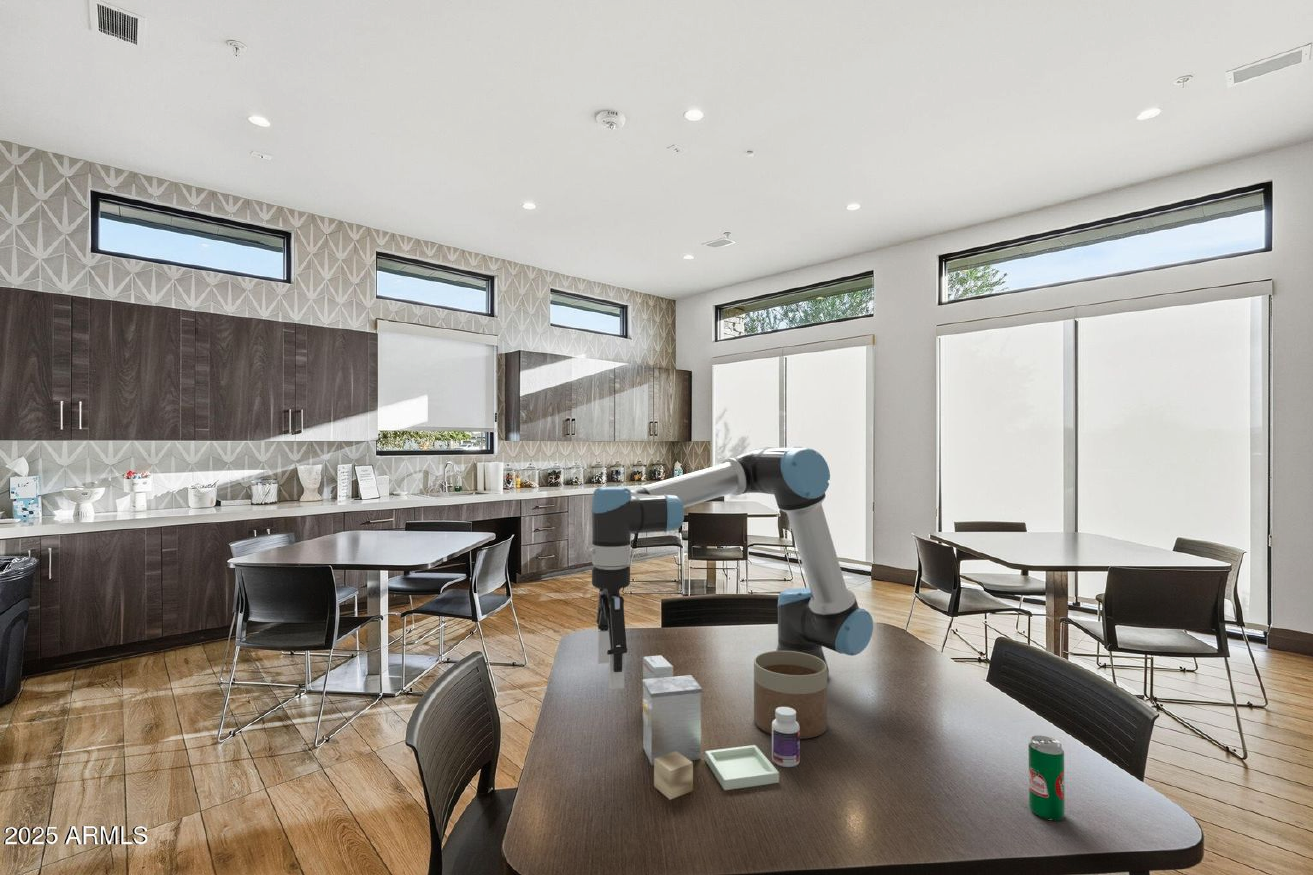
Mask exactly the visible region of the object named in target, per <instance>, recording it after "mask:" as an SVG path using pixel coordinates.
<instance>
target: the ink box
mask: <svg viewBox="0 0 1313 875" xmlns="http://www.w3.org/2000/svg"><path fill="white" fill-rule="evenodd" d="M663 677H674V665H672V664H671V663H670V662H669V661H668V660H667V659H666V658H665V657H663V655H662V654H660V655H649V656H648V655H647V656H644V657H642V679H652V678H663ZM643 699H644V685H643V684H642V700H643Z"/></svg>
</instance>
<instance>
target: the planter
mask: <svg viewBox="0 0 1313 875" xmlns="http://www.w3.org/2000/svg"><path fill="white" fill-rule="evenodd" d="M827 665H828V664H827ZM827 665H826V663H825V662H824V661H823V660H821V659H820V658H818V657H816V656H813V655H810V654H806V653H801V652H795V651H776V650H774V651H771V650H770V651H766V652H763V653H760V654H758V655H757V656H756V657H754V659H753V721H754V723H755V725H756V726H757V727H758V728H760V729H761V730H762V731H764V732H766V733H767V734H770V735H772V722H773V720H774V719H776V717H775V710H776V708H778V707H789V708H792V709H794V710H795V711H796V720H795V721H797V722H798V724H799V726H800V740H805V739H807V740H808V739H810V738H811V739H812V738H816V737H818V736H820V735H822V734H823V733H825V732H826V730H827V728H828V681H827Z"/></svg>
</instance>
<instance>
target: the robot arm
mask: <svg viewBox="0 0 1313 875" xmlns="http://www.w3.org/2000/svg"><path fill="white" fill-rule="evenodd" d="M830 479H831V473H830V468H829V465H828V462H827V461H826V459H825V458H824V457H823V455H822V454H821V453H820V452H818V451H817V450H815V449H813V448H809V447H803V446H802V447H801V446H792V447H768V446H767V447H761V448H758V449H753V450H751V451H748V452H745V453H741V454H739V455H735V456H731V457H728V458H726V459H724V460H723V461H722V462H721V464H719V465H714V466H710V467H707V468H704V469H700V470H696V471H693V472H690V473H689V472H688V473H686V474H682V475H678V476H675V477H671V478H668V479H664V480H663V479H662V480H660V481H657V482H654V483H649V484H646V485H642V486H639V487H636V488H635V487H634V488H631V489H630V488H629V487H626V486H601V487H597V488H595V489H594V491H593V494H592V495H593V496H592V502H591V503H592V504H591V505H592V506H591V514H592V515H591V517H592V523H591V524H592V526H591V527H592V531H591V532H592V536H591V537H592V544H591V545H592V548H591V549H589V550H588V551H589V552H588V553H589V555H592V556H591V557H592V559H591V560H592V562H591V563H592V565H593V566H592V568H591V586H592V587H594V588H597V589H599V591H598V592H599V594H598V604H597V615H596V620H595V621H596V624H597V629H598V631H597V632H598V635H597V636H598V637H597V638H598V640H597V642H598V643H597V644H598V645H597V664H599V665H600V664H608V668H609V669H608V671H609V672H608V688H609V690H616V689H617V690H618V689H625V654H627V653H628V646H627V633H626V621H625V620H626V619H625V610H624V609H625V604H624V602H625V599H624V597H623V596H621V594H620V590H621V589H625V588H628V587H629V586H630V585H631V568H630V566H629V565H630V564H631V556H632V554H631V549H632V548H631V544H632V543H631V537H632V536H631V535H633V534H634V535H635V534H645V533H646V534H647V533H661V532H663V533H667V532H670V531H671V532H672V531H676V530H678V529H680V528H681V526H682V525H683V522H684V520H685V519H684V518H685V508H688V507H692V506H694V505H698V504H701V503H704V502H707V501H710V500H713V499H717V498H720V497H724V496H726V495H730V494H731V495H733V496H740V495H743V494H744V495H745V494H752V493H753V494H756V493H757V494H758V493H759V494H765V495H766V494H768V495H773V496H774V498H775V502H776V504H777V507H778V509H779V510H780V511H782V512H783V513H786V515H787V519H788V521H789V525H790V529H791V532H792V535H793V539H794V542H795V544H796V549H797V552H798V554H799V557H800V561H801V564H802V567H803V570H804V574H805V577H806V580H807V583H808V587H801V588H799V587H797V588H790V589H784V590H781V591H780V592H779V594H778V597H777V598H778V599H777V605H776V606H777V647H776V649H775V651H795V652H801V653H806V654H810V655H813V656H816V657H818V658H820V659H821V660H823V661H824V662H825V663H826V665H827V682H828V681H829V678H830V670H829V666H828V663H827V662H828V661H827V660H826V656H825V654H824V651H823V648H825V649H828V650H831V651H834V652H835V653H838V654H843V655H846V656H850V657H852V656H857V655H859V654H861V653H862V652H863V651H864V650H865V649H866V648H867V646H868V645H869V644H870V642H871V638H872V637H873V632H874V621H873V617H872V615H871V613H870V612H869V611H868V610H866V609H865V608H860V607H859V605H858V604H859V603H858V600H857V597H856V595H855V593H854V592H853V591H852V590H850V589H848V588H847V585H846V582H845V578H844V576H843V572H842V568H841V565H840V561H839V558H838V555H837V552H836V548H835V545H834V542H833V539H832V538H833V537H832V535H831V532H830V528H829V524H828V522H827V518H826V515H825V511H824V508H823V505H822V503H823V502H824V501H825V498H826V492H827V491H828V488H829V486H830V483H829V481H831V480H830Z"/></svg>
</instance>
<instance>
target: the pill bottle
mask: <svg viewBox="0 0 1313 875" xmlns="http://www.w3.org/2000/svg"><path fill="white" fill-rule="evenodd" d="M775 717H776V719H774V720H773V722H772V734H771V760H772V762H773V763H774V764H776V765H778V766H780V767H783V768H792V767H797V766H798V765H799V764H800V761H801V760H800V759H801V751H800V750H801V747H800V746H801V744H800V741H801V739H800V726H799V724H798V722H797V721H795V720H796V711H795V710H794V709H792V708H789V707H778V708H776V710H775Z"/></svg>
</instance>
